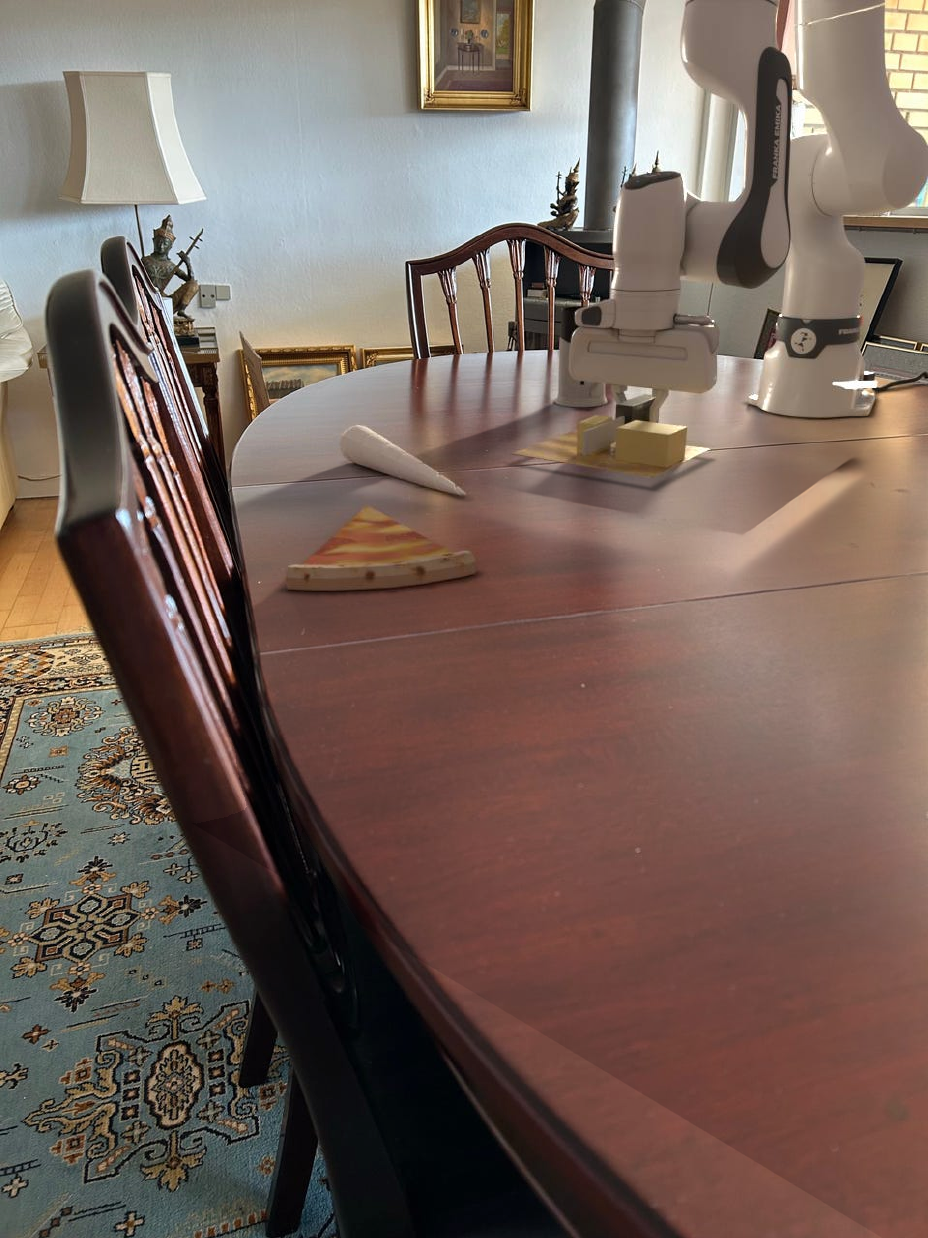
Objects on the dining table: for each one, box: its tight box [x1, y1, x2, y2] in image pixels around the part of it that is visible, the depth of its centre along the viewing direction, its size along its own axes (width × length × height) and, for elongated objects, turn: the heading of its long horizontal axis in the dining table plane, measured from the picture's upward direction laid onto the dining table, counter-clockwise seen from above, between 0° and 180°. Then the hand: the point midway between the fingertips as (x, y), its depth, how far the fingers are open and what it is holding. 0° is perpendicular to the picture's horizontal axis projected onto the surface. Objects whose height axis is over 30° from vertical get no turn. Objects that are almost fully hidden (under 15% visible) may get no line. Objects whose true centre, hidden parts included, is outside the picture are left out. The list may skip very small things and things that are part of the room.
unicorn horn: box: [339, 424, 467, 496], centre depth 109 cm, size 5×24×5 cm, turn 35°
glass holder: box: [555, 305, 608, 408], centre depth 145 cm, size 9×14×15 cm, turn 18°
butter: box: [615, 420, 688, 468], centre depth 110 cm, size 5×7×4 cm
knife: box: [582, 393, 661, 456], centre depth 116 cm, size 20×2×4 cm, turn 145°
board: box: [511, 429, 710, 479], centre depth 115 cm, size 16×20×2 cm
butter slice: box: [576, 414, 613, 456], centre depth 114 cm, size 5×2×4 cm, turn 145°
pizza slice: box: [285, 504, 477, 592], centre depth 86 cm, size 16×22×2 cm
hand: (637, 419), depth 121 cm, fingers closed on knife, 2 cm apart
